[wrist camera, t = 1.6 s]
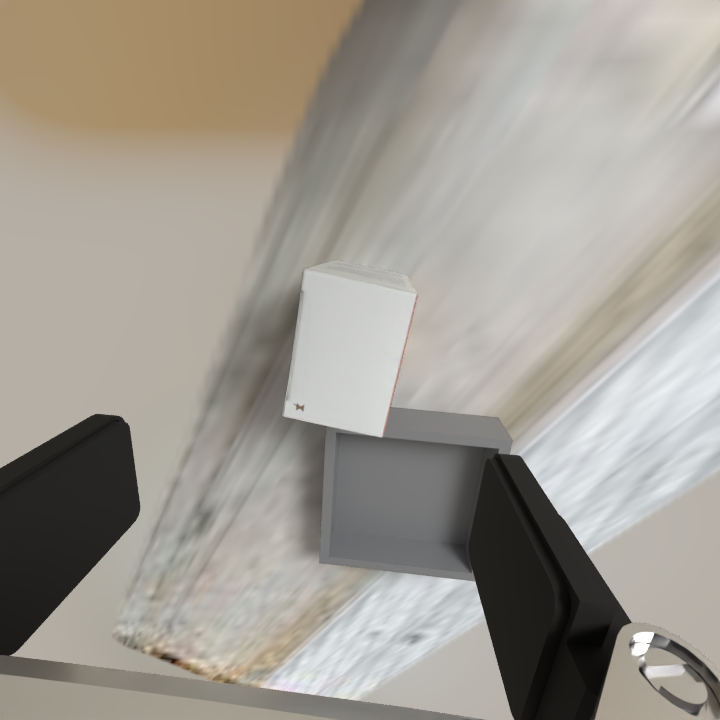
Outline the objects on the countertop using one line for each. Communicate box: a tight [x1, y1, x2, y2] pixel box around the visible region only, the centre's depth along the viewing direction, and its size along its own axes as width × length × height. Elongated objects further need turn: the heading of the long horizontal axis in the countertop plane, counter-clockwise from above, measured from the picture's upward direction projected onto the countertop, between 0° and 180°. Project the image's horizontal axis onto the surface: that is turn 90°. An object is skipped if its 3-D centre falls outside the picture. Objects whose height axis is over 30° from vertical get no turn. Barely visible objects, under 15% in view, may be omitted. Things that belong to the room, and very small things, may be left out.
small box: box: [282, 260, 418, 437], centre depth 23 cm, size 8×6×10 cm
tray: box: [319, 407, 513, 581], centre depth 30 cm, size 14×14×4 cm
